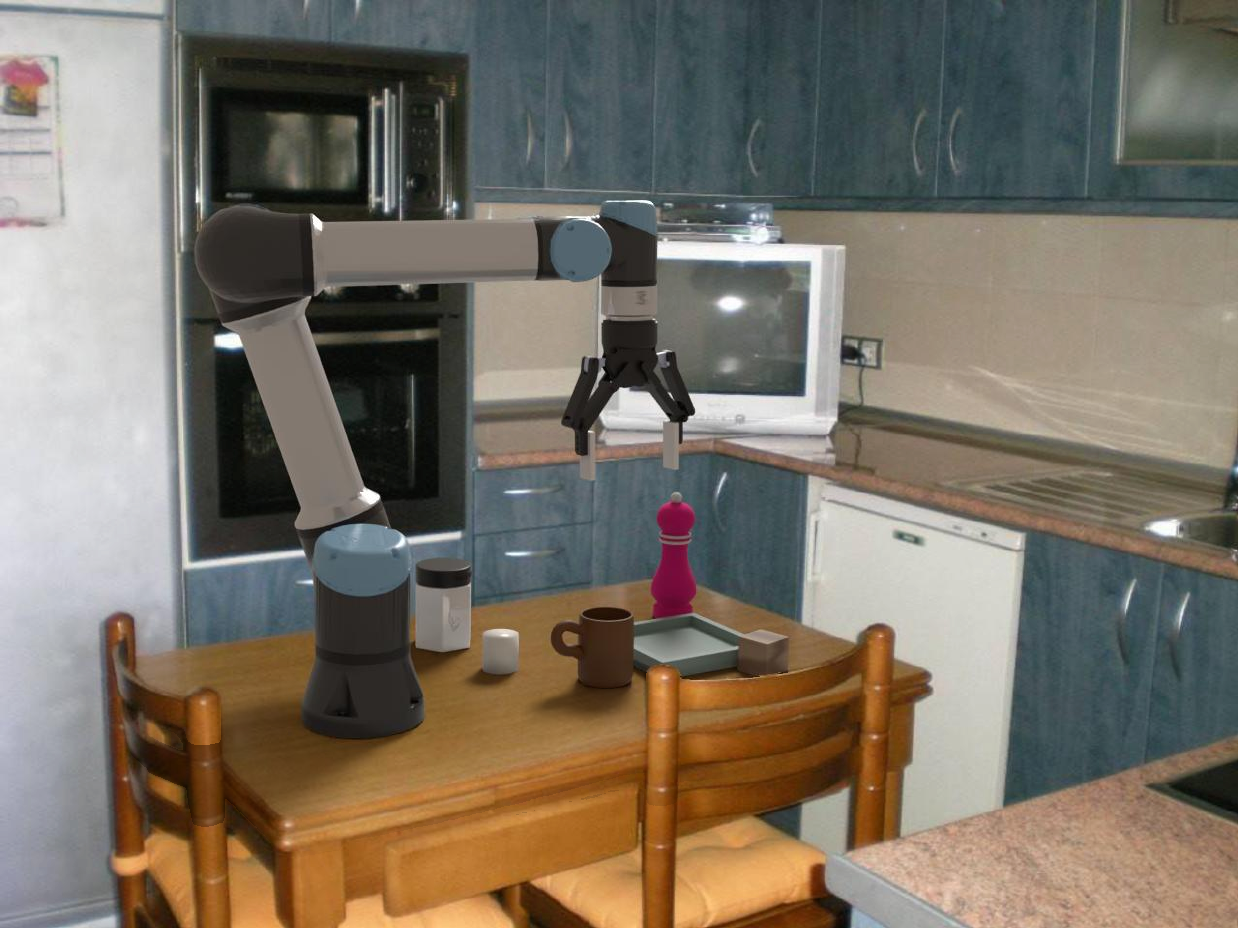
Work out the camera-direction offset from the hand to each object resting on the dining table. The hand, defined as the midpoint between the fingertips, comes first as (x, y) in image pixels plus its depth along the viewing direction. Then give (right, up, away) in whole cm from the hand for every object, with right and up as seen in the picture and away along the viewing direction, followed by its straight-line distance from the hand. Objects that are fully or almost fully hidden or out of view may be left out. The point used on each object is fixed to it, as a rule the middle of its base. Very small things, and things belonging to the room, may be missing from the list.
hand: (630, 473), depth 196 cm
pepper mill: (+7, -23, +31) cm, 39 cm away
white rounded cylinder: (-18, -27, +4) cm, 33 cm away
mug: (-5, -28, -1) cm, 29 cm away
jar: (-27, -25, +14) cm, 40 cm away
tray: (+7, -26, +13) cm, 30 cm away
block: (+19, -28, +6) cm, 34 cm away
